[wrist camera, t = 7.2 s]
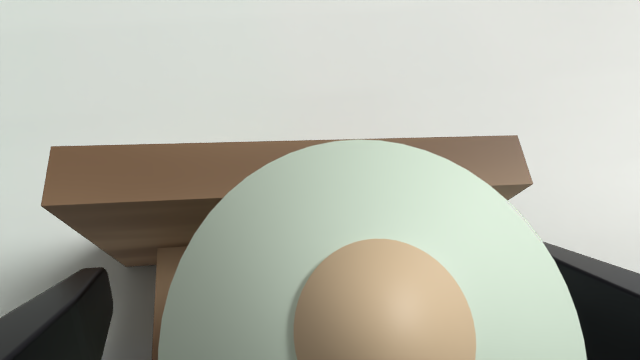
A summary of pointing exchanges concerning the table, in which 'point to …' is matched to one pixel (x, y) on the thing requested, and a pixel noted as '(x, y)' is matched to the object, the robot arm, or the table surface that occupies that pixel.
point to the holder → (206, 190)
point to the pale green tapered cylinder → (367, 267)
